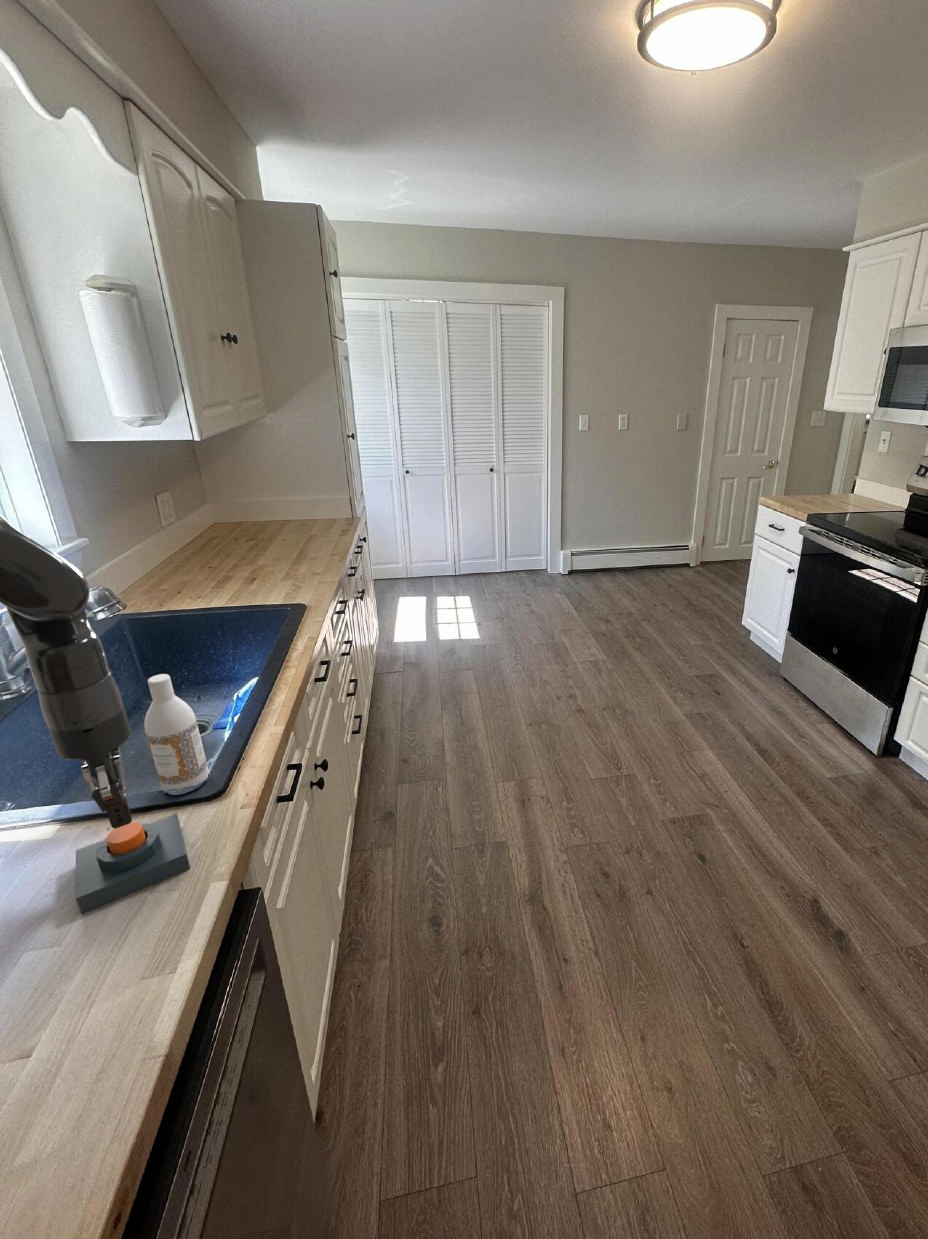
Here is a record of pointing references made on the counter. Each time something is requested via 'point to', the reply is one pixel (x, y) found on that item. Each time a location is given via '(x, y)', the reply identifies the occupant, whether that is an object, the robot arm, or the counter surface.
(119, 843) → the button
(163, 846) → the button base
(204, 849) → the counter surface
